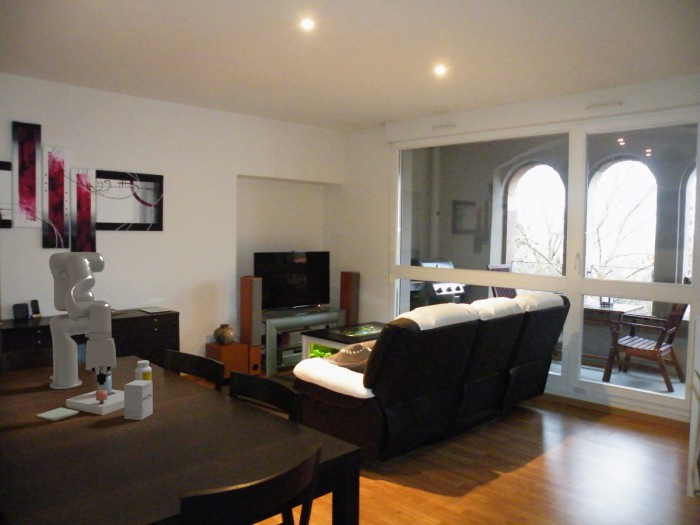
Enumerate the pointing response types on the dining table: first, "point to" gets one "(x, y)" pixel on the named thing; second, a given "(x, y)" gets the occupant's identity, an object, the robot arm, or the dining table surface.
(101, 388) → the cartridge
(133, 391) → the supplement box
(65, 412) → the mat
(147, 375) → the supplement bottle
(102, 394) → the knob
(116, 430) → the dining table surface
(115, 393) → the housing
